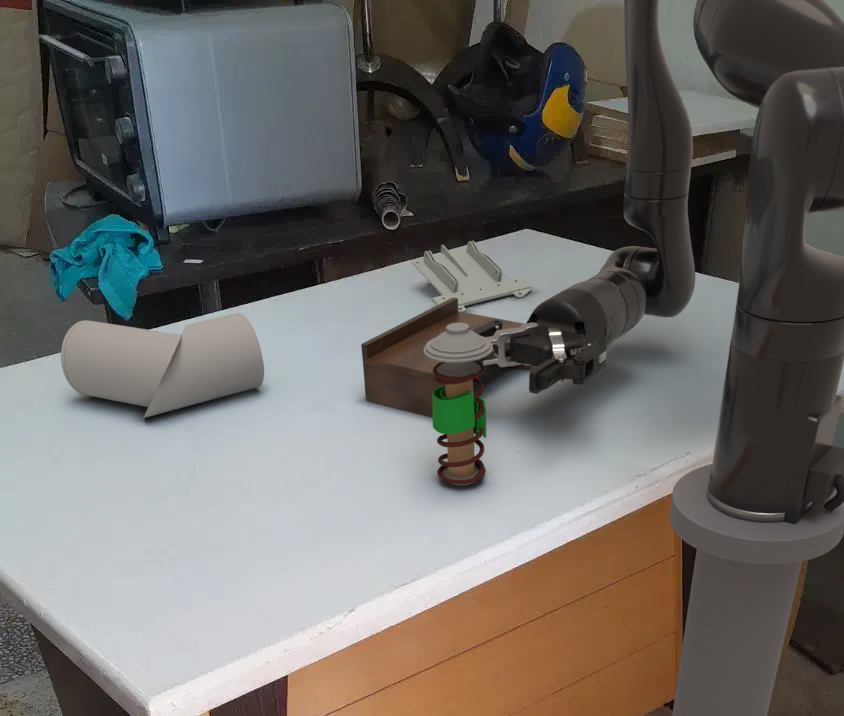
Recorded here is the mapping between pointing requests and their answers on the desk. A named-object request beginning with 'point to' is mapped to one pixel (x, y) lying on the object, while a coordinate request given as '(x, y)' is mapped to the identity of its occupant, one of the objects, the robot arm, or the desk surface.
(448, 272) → the metal bracket
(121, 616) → the desk surface
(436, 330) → the shelf
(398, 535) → the desk surface
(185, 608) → the desk surface
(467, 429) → the shock absorber
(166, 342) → the elbow connector
